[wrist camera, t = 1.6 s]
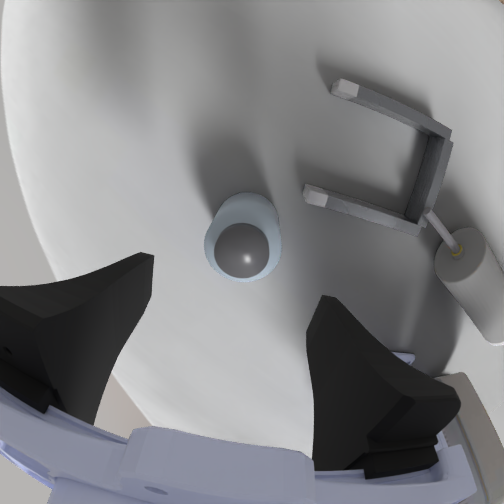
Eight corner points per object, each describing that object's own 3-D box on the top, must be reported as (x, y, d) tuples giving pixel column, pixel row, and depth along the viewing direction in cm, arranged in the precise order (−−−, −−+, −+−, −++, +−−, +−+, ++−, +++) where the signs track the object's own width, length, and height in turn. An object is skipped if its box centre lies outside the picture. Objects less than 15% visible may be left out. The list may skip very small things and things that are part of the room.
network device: (400, 452, 36) (420, 542, 18) (355, 461, 36) (368, 558, 18) (468, 353, 25) (533, 481, 7) (411, 363, 26) (470, 523, 8)
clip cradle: (408, 227, 20) (421, 238, 18) (302, 194, 19) (306, 202, 17) (439, 130, 16) (456, 132, 14) (332, 83, 16) (340, 78, 14)
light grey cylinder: (269, 257, 21) (270, 296, 17) (211, 243, 21) (195, 279, 16) (285, 201, 20) (292, 226, 15) (223, 185, 19) (209, 206, 15)
